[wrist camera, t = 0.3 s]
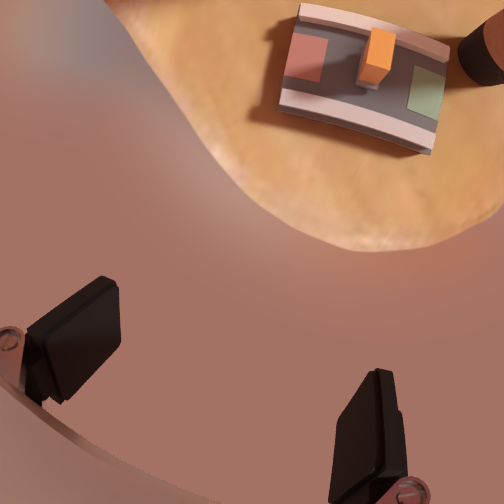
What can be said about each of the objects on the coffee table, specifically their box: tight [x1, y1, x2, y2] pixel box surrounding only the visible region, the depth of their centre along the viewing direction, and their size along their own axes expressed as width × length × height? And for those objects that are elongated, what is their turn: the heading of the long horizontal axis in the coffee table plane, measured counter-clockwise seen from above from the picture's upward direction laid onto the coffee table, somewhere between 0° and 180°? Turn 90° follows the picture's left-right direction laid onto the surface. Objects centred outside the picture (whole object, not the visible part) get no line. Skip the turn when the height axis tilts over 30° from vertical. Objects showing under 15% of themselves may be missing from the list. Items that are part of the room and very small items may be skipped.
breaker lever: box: [355, 27, 396, 91], centre depth 22 cm, size 4×2×9 cm, turn 169°
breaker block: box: [276, 3, 450, 155], centre depth 28 cm, size 14×18×5 cm
